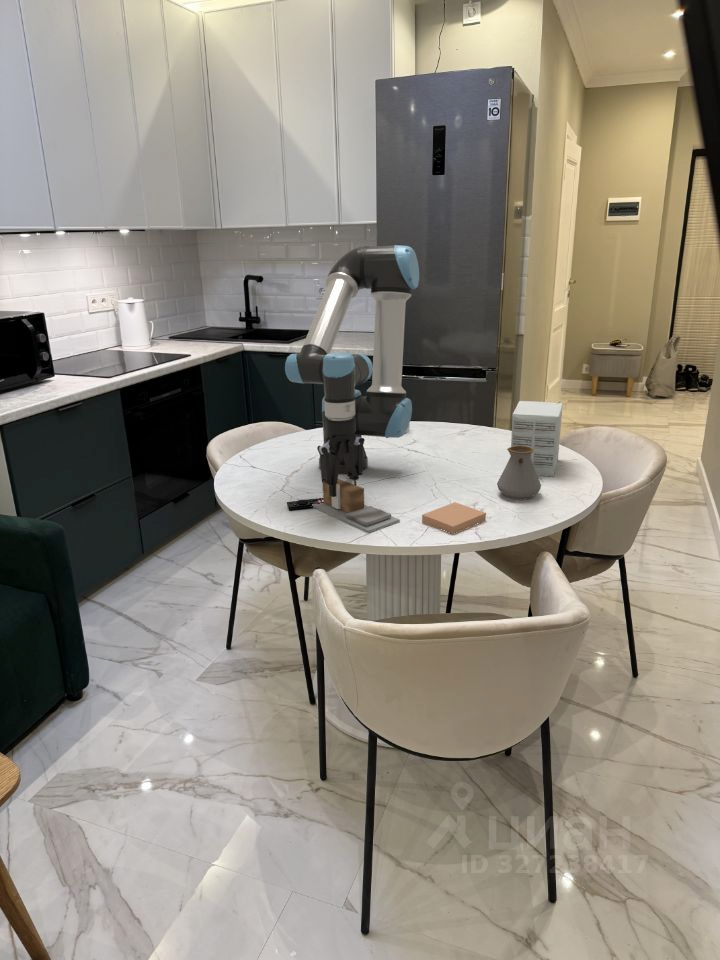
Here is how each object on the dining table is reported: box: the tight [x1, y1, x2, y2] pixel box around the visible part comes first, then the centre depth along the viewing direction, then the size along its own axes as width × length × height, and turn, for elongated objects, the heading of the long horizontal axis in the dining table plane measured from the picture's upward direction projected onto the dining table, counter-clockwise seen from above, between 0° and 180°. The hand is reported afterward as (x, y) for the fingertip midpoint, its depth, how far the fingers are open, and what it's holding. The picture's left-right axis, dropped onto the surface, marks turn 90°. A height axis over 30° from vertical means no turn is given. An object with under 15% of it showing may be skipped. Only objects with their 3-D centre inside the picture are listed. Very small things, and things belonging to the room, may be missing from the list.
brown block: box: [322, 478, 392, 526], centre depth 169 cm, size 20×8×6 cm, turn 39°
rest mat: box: [311, 503, 401, 534], centre depth 170 cm, size 24×10×1 cm, turn 40°
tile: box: [421, 501, 487, 535], centre depth 164 cm, size 2×12×10 cm
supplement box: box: [509, 400, 563, 477], centre depth 200 cm, size 17×13×18 cm
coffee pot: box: [496, 446, 542, 501], centre depth 173 cm, size 21×12×15 cm, turn 166°
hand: (343, 505), depth 173 cm, fingers closed on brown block, 4 cm apart
